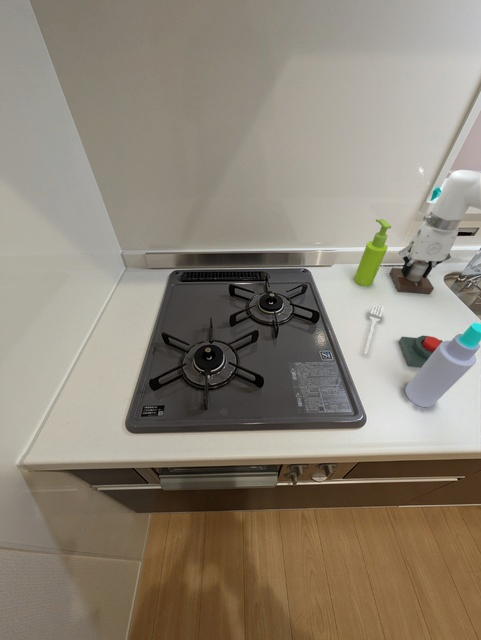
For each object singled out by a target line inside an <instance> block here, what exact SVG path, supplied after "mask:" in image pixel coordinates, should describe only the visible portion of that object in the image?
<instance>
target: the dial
mask: <svg viewBox="0 0 481 640" xmlns="http://www.w3.org/2000/svg"><path fill="white" fill-rule="evenodd" d="M427 262H428V261H423V260H415V261H414V262H413V263H412V264H411V266H412V268H411V270H410V271H409V273H408V275H407V276H406V277H405V278H406V279H408V280H410V281H413V282H418V281H420V279H421V278H422V276H423V274H424V273H425V271H426V269H427V267H428V266H429V264H428V263H427Z"/></svg>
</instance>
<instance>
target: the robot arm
mask: <svg viewBox="0 0 481 640" xmlns="http://www.w3.org/2000/svg"><path fill="white" fill-rule="evenodd" d="M470 207H471V208H475V209H478V210H481V172H477V171H473V170H470V169H458V170H455V171H453V172H452V173H451V174H450V175H449V176H448V178H447V180H446V181H445V183H444V186H443V188H442V190H441V192H440V193H439V196H438V198H437V199H436V202H435V204H434V205H433V208H432V210H431V211H430V212H429V214H428V215H424V216H423V219H422V220H423V222H422V223H421V225H420V226H419V228H418V229H417V230H416V232H415V233H414V235H413V236H412V238H411V240H410V242H409V243H408V245H407V246H406V247H404V248H402V249H400V250H399V251H398V255H399V256H400V258H401V259H402V260H403V262H404V263H403V266H402V267H401V268H402V269H401V272H402V274H403V276H404V277H406V276H407V275H408V273H409V271H410V270H411V268H412V266H411V264H412V263H413V262H414V261H415V260H423V261H426V262H427V263H428V264H429V266H428V267H427V269H426V271H425V273H424V274H423V276H422V277H423V278H426V277H427V278H428V275H429V274H430V273H431V271H432V270H433V269H434V268H436V267H437V266H438V265H440V264H442V263H443V262H445V261H447V260H450V259H451V253H450V252H451V250H452V248H453V246H454V244H455V242H456V241H457V237H458V233H459V232H460V229H459V225H460V223H461V222H462V221H463V218H464V217H465V215H466V214H467V212H468V210H469V208H470Z"/></svg>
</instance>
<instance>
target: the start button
mask: <svg viewBox="0 0 481 640" xmlns="http://www.w3.org/2000/svg"><path fill="white" fill-rule="evenodd" d="M428 336H429V337H426V339H425V340H424V341H423V343H422V345H423V347H424V348H425V349H426V350H428V351H431V352H434V351H435V350H436V348H437V347H438V346H439V345H440V344H441V341H440V340H441V339H439V338H437V337H435V336H431V335H428Z"/></svg>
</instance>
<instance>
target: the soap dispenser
mask: <svg viewBox="0 0 481 640" xmlns="http://www.w3.org/2000/svg"><path fill="white" fill-rule="evenodd" d="M375 222H376V223H378V224H379V225H380V226H381V227H380V229H379V231H378V232H375V234H374V237H373V240H370V241H368V242H366V246H365V248H364V250H363V253H362V256H361V259H360V262H359V264H358V267H357V270H356V273H355V275H354V278H353V281H354V283H355V284H357V285H358V286H361V287H371V286H372V285H373V283H374V281H375V278H376V277H377V275H378V271H379V269H380V267H381V265H382V262H383V260H384V257H385V255H386V253H387V251H388V246H387V244H386V241H387V239H388V235H387V231H388V229H389V230H390V229H391V228H392V226H391V224H390V223H389V222H388V221H387V220H385V219H382V218H380V219H379V218H378V219H375Z"/></svg>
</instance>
